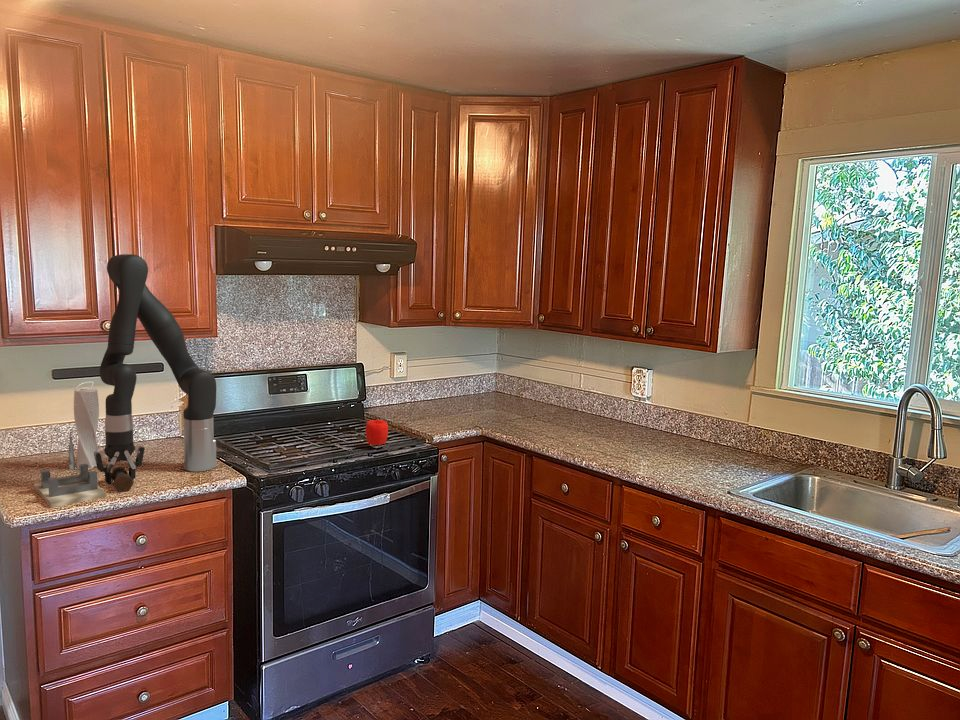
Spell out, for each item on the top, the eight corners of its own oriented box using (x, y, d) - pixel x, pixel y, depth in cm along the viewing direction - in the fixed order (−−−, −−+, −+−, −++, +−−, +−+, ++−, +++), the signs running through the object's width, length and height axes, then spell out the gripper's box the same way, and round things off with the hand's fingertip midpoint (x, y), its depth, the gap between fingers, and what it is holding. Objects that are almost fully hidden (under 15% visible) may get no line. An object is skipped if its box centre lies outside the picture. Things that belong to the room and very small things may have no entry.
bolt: (120, 483, 221) (126, 495, 208) (104, 477, 218) (109, 489, 206) (130, 466, 222) (136, 478, 209) (114, 460, 219) (120, 471, 207)
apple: (369, 443, 273) (370, 416, 272) (391, 446, 272) (391, 418, 270) (361, 449, 265) (362, 421, 263) (383, 451, 263) (384, 423, 262)
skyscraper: (81, 463, 235) (78, 380, 231) (106, 463, 235) (103, 381, 231) (67, 470, 226) (64, 385, 222) (93, 471, 227) (90, 386, 223)
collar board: (86, 479, 217) (86, 475, 217) (106, 497, 203) (106, 492, 203) (34, 488, 208) (33, 483, 207) (50, 507, 193) (50, 502, 193)
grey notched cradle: (87, 479, 213) (86, 463, 212) (97, 489, 205) (97, 472, 204) (41, 486, 205) (40, 470, 204) (50, 497, 197) (49, 480, 196)
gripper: (140, 423, 220) (141, 475, 222) (89, 428, 210) (90, 483, 212) (148, 427, 214) (149, 481, 217) (96, 433, 205) (98, 489, 207)
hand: (120, 481), depth 214 cm, fingers closed on bolt, 5 cm apart
